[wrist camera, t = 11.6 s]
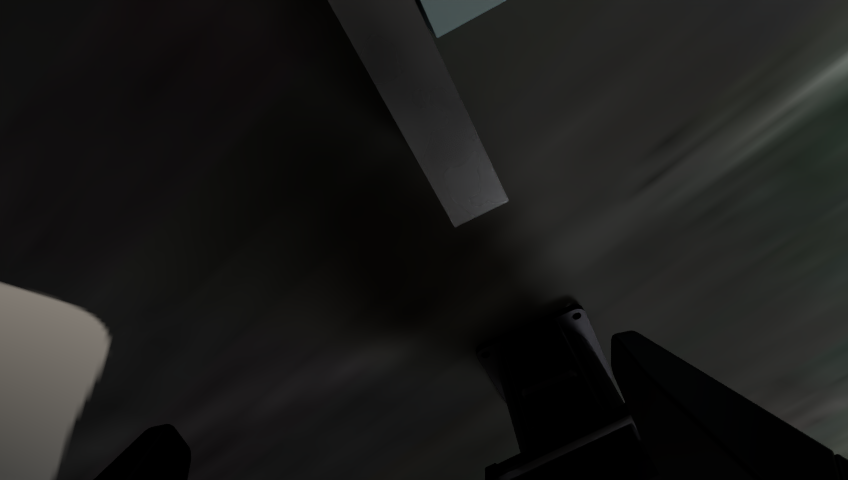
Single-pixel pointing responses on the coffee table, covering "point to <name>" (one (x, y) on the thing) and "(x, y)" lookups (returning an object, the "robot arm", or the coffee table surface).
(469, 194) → the corner stop
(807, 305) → the coffee table surface
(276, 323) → the coffee table surface
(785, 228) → the coffee table surface
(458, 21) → the socket block
